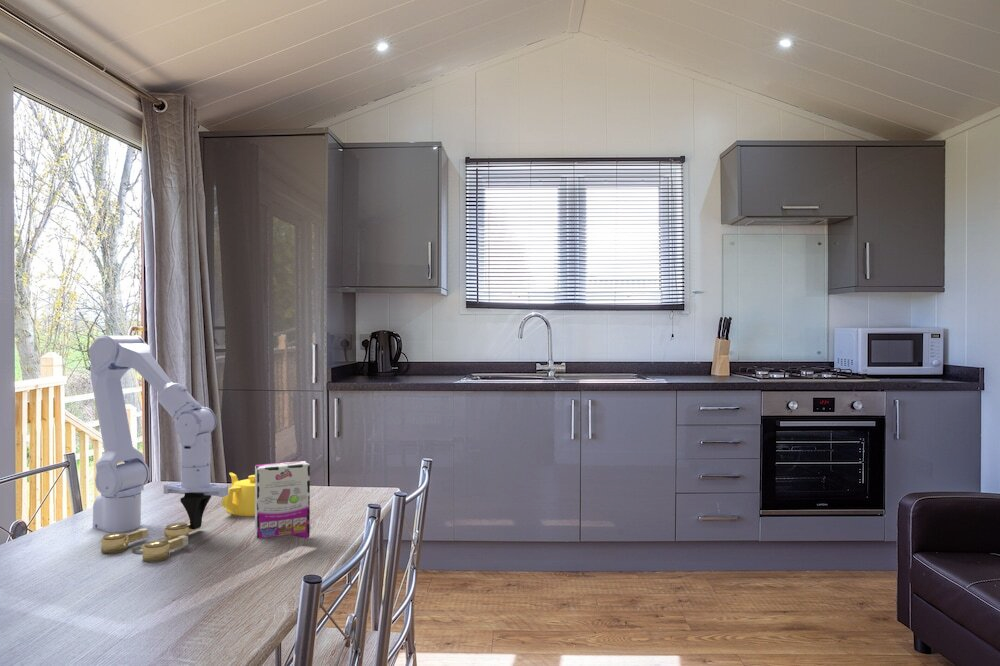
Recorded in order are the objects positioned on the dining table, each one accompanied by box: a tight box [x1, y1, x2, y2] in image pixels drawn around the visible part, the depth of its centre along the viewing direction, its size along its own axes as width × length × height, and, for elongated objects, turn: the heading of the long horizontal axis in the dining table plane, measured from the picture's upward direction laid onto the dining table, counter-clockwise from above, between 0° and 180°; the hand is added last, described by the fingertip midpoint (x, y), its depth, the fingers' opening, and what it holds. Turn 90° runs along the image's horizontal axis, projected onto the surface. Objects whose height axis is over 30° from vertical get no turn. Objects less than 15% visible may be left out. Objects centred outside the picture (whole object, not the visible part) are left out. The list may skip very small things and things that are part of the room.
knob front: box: [141, 535, 189, 563], centre depth 127 cm, size 9×5×3 cm, turn 158°
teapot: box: [221, 472, 255, 517], centre depth 160 cm, size 14×13×10 cm
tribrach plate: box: [131, 543, 144, 555], centre depth 131 cm, size 22×21×2 cm
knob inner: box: [100, 527, 149, 555], centre depth 131 cm, size 9×5×3 cm, turn 158°
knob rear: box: [163, 519, 205, 541], centre depth 138 cm, size 9×5×3 cm, turn 162°
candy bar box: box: [254, 460, 311, 539], centre depth 142 cm, size 11×5×16 cm, turn 118°
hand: (195, 528), depth 140 cm, fingers closed, pressing on knob rear
